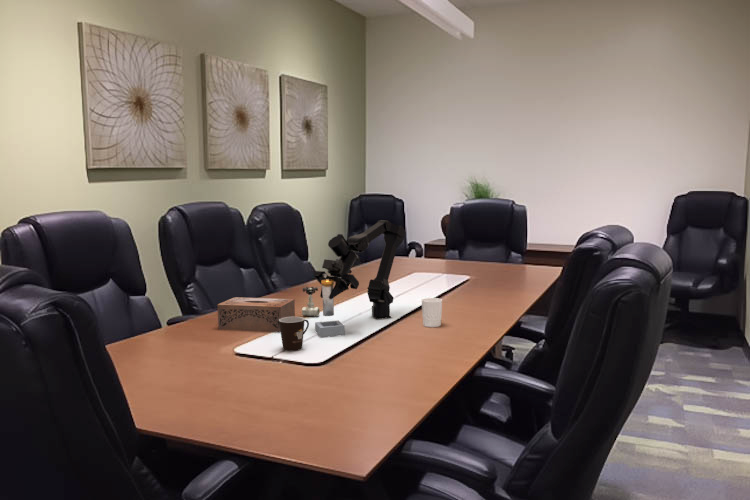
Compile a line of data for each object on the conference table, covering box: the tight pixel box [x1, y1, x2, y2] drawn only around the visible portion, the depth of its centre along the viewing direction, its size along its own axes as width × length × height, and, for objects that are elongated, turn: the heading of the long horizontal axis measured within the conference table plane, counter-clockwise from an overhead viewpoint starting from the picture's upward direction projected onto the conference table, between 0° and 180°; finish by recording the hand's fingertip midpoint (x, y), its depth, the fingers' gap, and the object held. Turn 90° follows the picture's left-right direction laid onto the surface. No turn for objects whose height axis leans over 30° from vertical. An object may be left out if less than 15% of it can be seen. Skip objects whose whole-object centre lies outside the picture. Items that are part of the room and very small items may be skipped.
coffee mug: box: [279, 316, 310, 352], centre depth 204 cm, size 12×9×10 cm
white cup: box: [421, 297, 443, 328], centre depth 233 cm, size 8×8×10 cm
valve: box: [301, 286, 320, 317], centre depth 251 cm, size 7×7×12 cm
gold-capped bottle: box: [320, 279, 335, 317], centre depth 222 cm, size 5×5×13 cm
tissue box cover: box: [216, 296, 296, 333], centre depth 235 cm, size 26×14×10 cm, turn 77°
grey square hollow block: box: [314, 319, 346, 338], centre depth 223 cm, size 9×9×4 cm
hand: (325, 297), depth 221 cm, fingers closed on gold-capped bottle, 4 cm apart
